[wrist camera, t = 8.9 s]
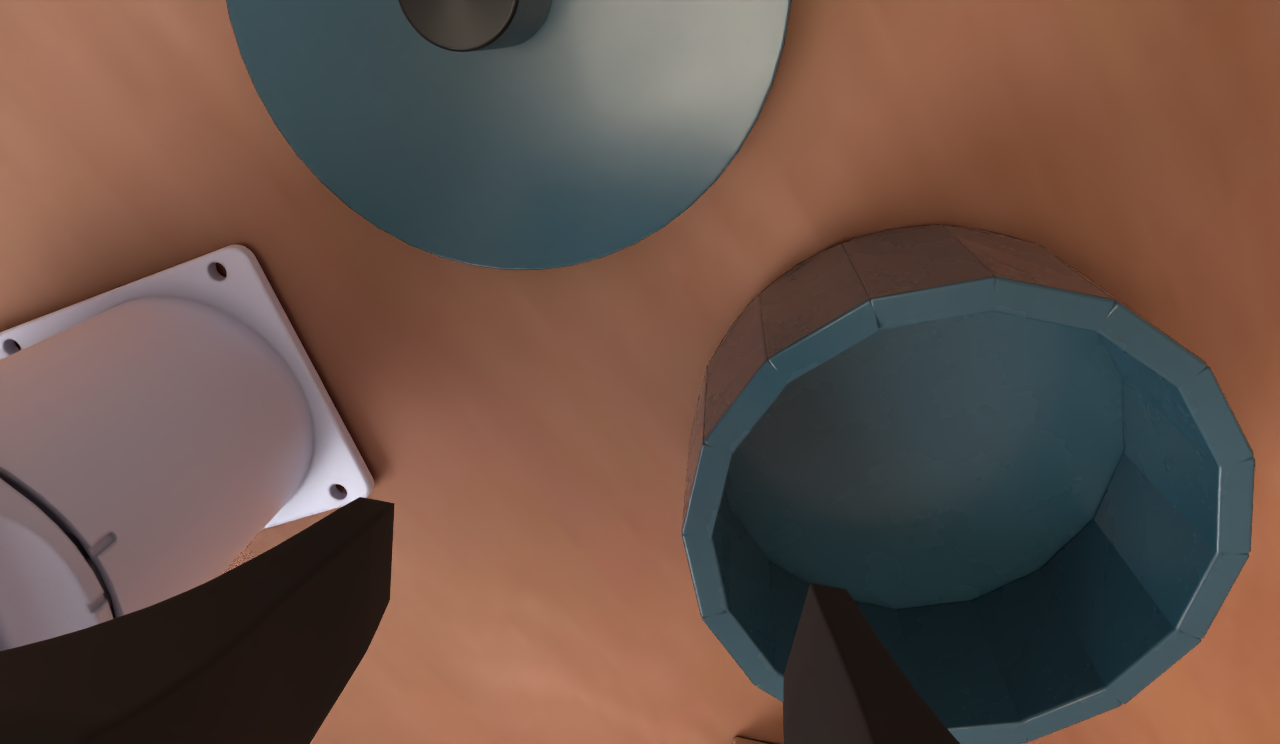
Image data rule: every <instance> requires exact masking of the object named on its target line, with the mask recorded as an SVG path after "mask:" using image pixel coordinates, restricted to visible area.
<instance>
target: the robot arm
mask: <svg viewBox="0 0 1280 744" xmlns="http://www.w3.org/2000/svg"><path fill="white" fill-rule="evenodd" d="M216 262H218V263H220V264H222V265H223V266H224V267H225V269H226V272H227V275H226V277H224V276H222V275H220V274H219V273H218V271H217V269H216ZM14 341H16V342H17V343H18V344H19V345H20V347H21V350H20V349H19V348H18V347H17V346H16V345H15V342H14ZM335 484H340V485H342V486H343V487H344V488H345V489H346V491H347V493H343V492H341V491H339V490H338V489H337V488H336V485H335ZM373 489H374V481H373V477H372V475H371V474H370V472H369V470H368V468H367V466H366V464H365V462H364V460H363V458H362V457H361V455H360V453H359V451H358V449H357V447H356V445H355V443H354V441H353V440H352V438H351V436H350V434H349V432H348V430H347V428H346V426H345V425H344V423H343V421H342V419H341V417H340V415H339V413H338V411H337V409H336V408H335V406H334V404H333V402H332V400H331V398H330V396H329V394H328V392H327V391H326V389H325V387H324V385H323V383H322V381H321V379H320V377H319V376H318V374H317V372H316V370H315V368H314V366H313V364H312V362H311V360H310V359H309V357H308V355H307V353H306V351H305V349H304V347H303V345H302V343H301V342H300V340H299V338H298V336H297V334H296V332H295V330H294V328H293V327H292V325H291V323H290V321H289V319H288V317H287V315H286V313H285V311H284V310H283V308H282V306H281V304H280V302H279V300H278V298H277V296H276V294H275V293H274V291H273V289H272V287H271V285H270V283H269V281H268V279H267V278H266V276H265V274H264V272H263V270H262V268H261V266H260V264H259V262H258V261H257V259H256V257H255V255H254V254H253V253H252V252H251V250H249V249H248V248H246V247H245V246H242V245H238V244H235V245H229V246H227V247H224V248H221V249H219V250H216V251H214V252H211V253H208V254H206V255H203V256H200V257H198V258H195V259H192V260H190V261H187V262H184V263H182V264H179V265H177V266H174V267H171V268H169V269H166V270H163V271H161V272H158V273H155V274H153V275H150V276H147V277H145V278H142V279H140V280H137V281H134V282H132V283H129V284H126V285H124V286H121V287H118V288H116V289H113V290H110V291H108V292H105V293H103V294H100V295H97V296H95V297H92V298H89V299H87V300H84V301H81V302H79V303H76V304H73V305H71V306H68V307H66V308H63V309H60V310H58V311H55V312H52V313H50V314H47V315H44V316H42V317H39V318H36V319H34V320H31V321H29V322H26V323H23V324H21V325H18V326H15V327H13V328H10V329H7V330H5V331H2V332H0V744H310V742H311V741H312V739H313V737H314V736H315V734H316V732H317V731H318V729H319V728H320V726H321V724H322V723H323V721H324V720H325V718H326V716H327V715H328V713H329V712H330V710H331V708H332V707H333V705H334V704H335V702H336V700H337V699H338V697H339V696H340V694H341V692H342V691H343V689H344V688H345V686H346V684H347V683H348V681H349V679H350V678H351V676H352V674H353V673H354V671H355V670H356V668H357V666H358V665H359V663H360V661H361V660H362V658H363V656H364V655H365V653H366V651H367V649H368V647H369V645H370V643H371V641H372V639H373V636H374V634H375V632H376V630H377V628H378V626H379V623H380V621H381V619H382V616H383V614H384V612H385V609H386V607H387V605H388V603H389V600H390V584H391V563H392V542H393V521H394V503H389V502H384V501H379V500H373V499H368V498H367V497H368V495H369V494H370V493H371V491H372V490H373ZM342 506H343V507H342ZM339 507H341V508H340V509H338V510H336V511H335V512H333V513H331V514H330V515H328V516H326V517H325V518H323V519H321V520H320V521H318V522H316V523H315V524H313V525H312V526H310V527H308V528H306V529H305V530H303V531H301V532H300V533H298V534H296V535H294V536H293V537H291V538H289V539H288V540H286V541H284V542H282V543H281V544H279V545H277V546H275V547H274V548H272V549H270V550H268V551H267V552H265V553H263V554H261V555H259V556H257V557H255V558H253V559H251V560H249V561H247V562H245V563H244V564H242V565H240V566H238V567H236V568H234V569H232V570H230V571H228V572H226V573H224V574H222V573H223V572H224V571H225V569H226V568H227V567H228V566H229V565H230V564H231V563H232V562H233V561H234V560H235V559H236V558H237V556H238V555H239V554H240V553H241V552H242V551H243V550H244V549H245V548H246V547H247V546H248V544H249V543H250V542H251V541H252V540H253V539H254V538H255V537H256V536H257V535H258V534H259V532H260V531H261V530H262V529H266V528H269V527H273V526H276V525H280V524H283V523H287V522H290V521H294V520H297V519H301V518H304V517H307V516H311V515H314V514H318V513H321V512H325V511H328V510H332V509H335V508H339ZM221 574H222V575H221ZM783 730H784V741H785V744H960V743H959V741H958V740H957V739H956V738H955V737H954V736H953V735H952V734H951V733H950V731H949V730H948V729H947V728H946V727H945V726H944V725H943V723H942V722H941V721H940V720H939V718H938V717H937V716H936V715H935V714H934V712H933V711H932V710H931V709H930V707H929V706H928V705H927V704H926V702H925V701H924V700H923V699H922V698H921V696H920V695H919V694H918V692H917V691H916V690H915V688H914V687H913V686H912V685H911V683H910V682H909V681H908V679H907V678H906V676H905V675H904V674H903V672H902V671H901V670H900V668H899V667H898V665H897V664H896V663H895V661H894V660H893V658H892V657H891V655H890V654H889V653H888V651H887V650H886V648H885V647H884V645H883V644H882V642H881V641H880V639H879V638H878V636H877V635H876V633H875V632H874V630H873V629H872V627H871V626H870V624H869V623H868V621H867V620H866V618H865V616H864V615H863V613H862V612H861V610H860V609H859V607H858V606H857V604H856V603H855V601H854V600H853V598H852V597H851V595H850V594H849V592H848V591H847V589H842V588H837V587H832V586H826V585H821V584H816V583H810V586H809V590H808V593H807V597H806V600H805V604H804V607H803V610H802V614H801V617H800V621H799V624H798V628H797V631H796V635H795V638H794V642H793V645H792V649H791V652H790V655H789V659H788V662H787V666H786V669H785V673H784V685H783Z"/></svg>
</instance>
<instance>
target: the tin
mask: <svg viewBox="0 0 1280 744" xmlns="http://www.w3.org/2000/svg"><path fill="white" fill-rule="evenodd" d="M1254 470H1255V458H1254V455H1253V451H1252V449H1251V447H1250V445H1249V443H1248V441H1247V439H1246V437H1245V435H1244V433H1243V431H1242V429H1241V427H1240V425H1239V423H1238V421H1237V419H1236V417H1235V415H1234V413H1233V411H1232V409H1231V407H1230V405H1229V403H1228V401H1227V399H1226V397H1225V395H1224V393H1223V392H1222V390H1221V388H1220V386H1219V384H1218V382H1217V380H1216V378H1215V376H1214V374H1213V372H1212V370H1211V368H1210V367H1209V366H1207V364H1206V362H1205V361H1203V360H1202V359H1201V358H1199V357H1198V356H1196V355H1195V354H1194V353H1192V352H1191V351H1189V350H1188V349H1187V348H1185V347H1184V346H1182V345H1181V344H1180V343H1178V342H1177V341H1175V340H1174V339H1173V338H1171V337H1170V336H1168V335H1167V334H1166V333H1164V332H1163V331H1161V330H1160V329H1159V328H1157V327H1156V326H1154V325H1153V324H1151V323H1150V322H1149V321H1147V320H1146V319H1144V318H1143V317H1142V316H1140V315H1139V314H1137V313H1136V312H1135V311H1133V310H1132V309H1130V308H1129V307H1128V306H1126V305H1125V304H1123V303H1122V302H1121V301H1119V300H1118V299H1116V298H1115V297H1114V296H1112V295H1111V294H1109V293H1108V292H1106V291H1105V290H1104V289H1102V288H1101V287H1099V286H1098V285H1096V284H1095V283H1094V282H1092V281H1091V280H1089V279H1088V278H1086V277H1085V276H1084V275H1082V274H1081V273H1079V272H1078V271H1077V270H1075V269H1074V268H1072V267H1071V266H1069V265H1068V264H1067V263H1065V262H1064V261H1062V260H1061V259H1059V258H1058V257H1057V256H1055V255H1054V254H1052V253H1051V252H1049V251H1048V250H1047V249H1045V248H1044V247H1042V246H1041V245H1037V244H1035V243H1033V242H1028V241H1023V240H1019V239H1016V238H1013V237H1009V236H1006V235H1002V234H998V233H994V232H991V231H987V230H982V229H974V228H966V227H958V226H946V225H943V226H940V225H934V226H914V227H906V228H898V229H891V230H885V231H881V232H877V233H873V234H869V235H865V236H861V237H857V238H854V239H852V240H849V241H847V242H844V243H842V244H839V245H836V246H834V247H831V248H829V249H826V250H824V251H822V252H821V253H819V254H817V255H815V256H813V257H811V258H809V259H807V260H806V261H804V262H802V263H800V264H798V265H797V266H795V267H794V268H793V269H791V270H790V271H788V272H787V273H786V274H784V275H783V276H781V277H780V278H778V279H777V280H776V281H774V282H773V283H772V284H771V285H770V286H769V287H767V288H766V289H765V290H764V291H763V292H761V294H760V295H759V296H758V297H757V298H755V299H754V300H753V301H752V302H751V303H750V304H749V306H748V307H747V308H746V309H745V310H744V312H743V313H742V314H741V315H740V316H739V317H738V319H737V320H736V321H735V322H734V323H733V325H732V326H731V328H730V329H729V331H728V332H727V334H726V336H725V337H724V339H723V340H722V342H721V343H720V345H719V347H718V348H717V350H716V352H715V355H714V356H713V357H712V359H711V360H710V361H709V364H708V365H707V366H706V371H705V375H704V380H703V384H702V388H701V391H700V395H699V398H698V405H697V411H696V416H695V420H694V425H693V429H692V433H691V438H690V445H689V456H688V467H687V478H686V489H685V500H684V511H683V522H682V538H683V543H684V547H685V551H686V555H687V560H688V564H689V568H690V572H691V576H692V581H693V585H694V589H695V593H696V598H697V602H698V606H699V610H700V615H701V616H702V619H703V621H704V622H705V623H706V625H707V626H708V627H709V628H710V630H711V631H712V632H713V633H714V635H715V636H716V637H717V639H718V640H719V641H720V642H721V644H722V645H723V646H724V647H725V649H726V650H727V651H728V652H729V654H730V655H731V656H732V658H733V659H734V660H735V661H736V663H737V664H738V665H739V666H740V668H741V669H742V670H743V671H744V673H745V674H746V675H747V677H748V678H749V679H750V680H751V682H752V683H753V684H754V685H756V686H757V687H758V688H760V689H761V690H763V691H765V692H767V693H768V694H770V695H772V696H773V697H775V698H777V699H779V700H780V701H782V702H783V685H784V673H785V669H786V666H787V662H788V659H789V655H790V652H791V649H792V645H793V642H794V638H795V635H796V631H797V628H798V624H799V621H800V617H801V614H802V610H803V607H804V604H805V600H806V597H807V593H808V590H809V586H810V583H816V584H821V585H826V586H832V587H837V588H842V589H847V591H848V592H849V594H850V595H851V597H852V598H853V600H854V601H855V603H856V604H857V606H858V607H859V609H860V610H861V612H862V613H863V615H864V616H865V618H866V620H867V621H868V623H869V624H870V626H871V627H872V629H873V630H874V632H875V633H876V635H877V636H878V638H879V639H880V641H881V642H882V644H883V645H884V647H885V648H886V650H887V651H888V653H889V654H890V655H891V657H892V658H893V660H894V661H895V663H896V664H897V665H898V667H899V668H900V670H901V671H902V672H903V674H904V675H905V676H906V678H907V679H908V681H909V682H910V683H911V685H912V686H913V687H914V688H915V690H916V691H917V692H918V694H919V695H920V696H921V698H922V699H923V700H924V701H925V702H926V704H927V705H928V706H929V707H930V709H931V710H932V711H933V712H934V714H935V715H936V716H937V717H938V718H939V720H940V721H941V722H942V723H943V725H944V726H945V727H946V728H947V729H948V730H949V731H950V733H951V734H952V735H953V736H954V737H955V738H956V739H957V740H958V741H959V743H960V744H1022V743H1027V742H1028V741H1033V740H1035V739H1038V738H1040V737H1043V736H1045V735H1048V734H1051V733H1053V732H1056V731H1058V730H1061V729H1063V728H1066V727H1068V726H1071V725H1073V724H1076V723H1079V722H1081V721H1084V720H1086V719H1089V718H1091V717H1094V716H1096V715H1099V714H1102V713H1104V712H1107V711H1109V710H1112V709H1114V708H1117V707H1119V706H1121V705H1122V703H1123V704H1125V703H1127V702H1128V701H1130V700H1131V699H1132V698H1133V697H1134V696H1136V695H1137V694H1138V693H1139V692H1140V691H1142V690H1143V689H1144V688H1145V687H1147V686H1148V685H1149V684H1150V683H1151V682H1153V681H1154V680H1155V679H1156V678H1157V677H1159V676H1160V675H1161V674H1162V673H1164V672H1165V671H1166V670H1167V669H1168V668H1170V667H1171V666H1172V665H1173V664H1174V663H1176V662H1177V661H1178V660H1179V659H1181V658H1182V657H1183V656H1184V655H1185V654H1187V653H1188V652H1189V651H1190V650H1192V649H1193V648H1194V647H1195V646H1196V645H1198V644H1199V643H1200V642H1201V639H1202V638H1204V636H1205V635H1206V633H1207V631H1208V629H1209V627H1210V626H1211V624H1212V622H1213V620H1214V618H1215V617H1216V615H1217V613H1218V611H1219V609H1220V608H1221V606H1222V604H1223V602H1224V600H1225V599H1226V597H1227V595H1228V593H1229V591H1230V590H1231V588H1232V586H1233V584H1234V582H1235V581H1236V579H1237V577H1238V575H1239V573H1240V572H1241V570H1242V568H1243V566H1244V564H1245V563H1246V561H1247V559H1248V557H1249V552H1250V551H1251V533H1252V512H1253V491H1254Z"/></svg>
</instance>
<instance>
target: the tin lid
mask: <svg viewBox="0 0 1280 744" xmlns="http://www.w3.org/2000/svg"><path fill="white" fill-rule="evenodd" d="M226 2H227V8H228V13H229V18H230V21H231V24H232V27H233V31H234V34H235V37H236V40H237V44H238V47H239V50H240V53H241V56H242V59H243V61H244V63H245V66H246V68H247V70H248V73H249V75H250V77H251V80H252V82H253V84H254V87H255V89H256V91H257V93H258V95H259V97H260V98H261V100H262V102H263V104H264V106H265V107H266V109H267V111H268V113H269V114H270V116H271V118H272V120H273V121H274V123H275V125H276V126H277V128H278V129H279V131H280V132H281V133H282V135H283V136H284V138H285V139H286V140H287V142H288V143H289V145H290V146H291V147H292V149H293V150H294V152H295V153H296V154H297V156H298V157H299V158H300V159H301V160H302V161H303V162H304V164H305V165H306V166H307V167H308V168H309V169H310V170H311V171H312V172H313V174H314V175H315V176H316V177H317V178H318V179H319V180H320V181H321V183H322V184H324V185H325V186H326V187H327V188H328V189H329V190H330V191H331V192H333V193H334V194H335V195H336V196H337V197H338V198H339V199H340V200H341V201H343V202H344V203H345V204H346V205H347V206H348V207H349V208H351V209H352V210H354V211H355V212H356V213H358V214H359V215H361V216H362V217H364V218H365V219H366V220H368V221H369V222H371V223H372V224H373V225H375V226H376V227H378V228H379V229H381V230H383V231H385V232H387V233H389V234H390V235H392V236H394V237H396V238H398V239H400V240H401V241H403V242H405V243H407V244H409V245H411V246H414V247H416V248H419V249H421V250H424V251H426V252H429V253H431V254H434V255H436V256H439V257H442V258H446V259H450V260H454V261H457V262H461V263H465V264H469V265H473V266H480V267H488V268H495V269H503V270H541V269H549V268H557V267H565V266H572V265H575V264H579V263H583V262H587V261H590V260H594V259H598V258H602V257H605V256H607V255H609V254H612V253H614V252H617V251H619V250H621V249H624V248H626V247H629V246H631V245H634V244H635V243H637V242H639V241H640V240H642V239H644V238H646V237H647V236H649V235H651V234H653V233H654V232H656V231H658V230H660V229H661V228H663V227H664V226H666V225H667V224H668V223H669V222H671V221H672V220H673V219H675V218H676V217H677V216H679V215H680V214H681V213H682V212H684V211H685V210H686V209H688V208H689V207H690V206H691V205H692V204H693V203H694V202H695V201H696V200H697V199H698V198H699V197H700V196H701V195H702V194H703V193H704V192H705V191H706V190H707V189H708V188H709V187H710V186H711V185H712V184H713V183H714V182H715V181H716V180H717V179H718V178H719V176H720V175H721V174H722V172H723V171H724V170H725V168H726V167H727V166H728V165H729V163H730V162H731V161H732V159H733V158H734V157H735V155H736V154H737V153H738V151H739V150H740V148H741V146H742V145H743V143H744V141H745V140H746V138H747V136H748V134H749V133H750V131H751V129H752V128H753V126H754V124H755V122H756V121H757V119H758V117H759V114H760V112H761V110H762V107H763V105H764V103H765V100H766V98H767V96H768V93H769V91H770V89H771V86H772V84H773V81H774V78H775V74H776V71H777V68H778V64H779V61H780V57H781V54H782V50H783V47H784V43H785V37H786V31H787V25H788V19H789V13H790V7H791V0H226Z"/></svg>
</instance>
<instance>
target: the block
mask: <svg viewBox="0 0 1280 744" xmlns="http://www.w3.org/2000/svg"><path fill="white" fill-rule="evenodd" d="M732 744H768V743H763V742H759V741H754V740H749V739H744V738H739V737H735V738H734V740H733V743H732Z"/></svg>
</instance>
